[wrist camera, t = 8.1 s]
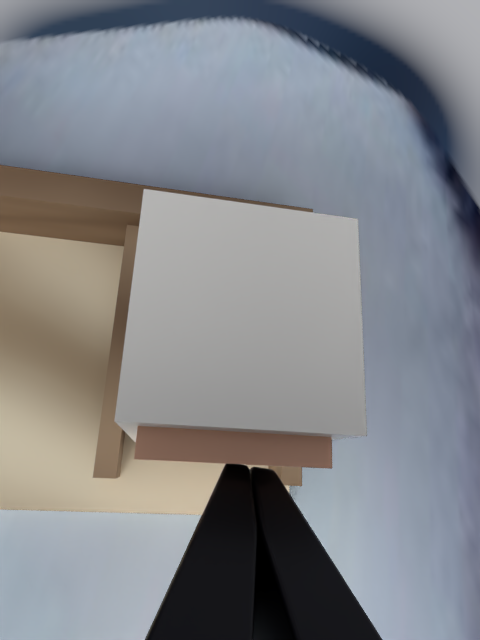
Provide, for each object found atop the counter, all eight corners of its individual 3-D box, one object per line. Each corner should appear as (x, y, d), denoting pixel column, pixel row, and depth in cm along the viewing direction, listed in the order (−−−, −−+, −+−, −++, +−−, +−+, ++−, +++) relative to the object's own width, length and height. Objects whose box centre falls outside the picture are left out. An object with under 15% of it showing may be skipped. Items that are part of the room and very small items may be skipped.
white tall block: (255, 465, 14) (367, 470, 7) (133, 459, 14) (109, 458, 6) (259, 334, 16) (358, 219, 8) (148, 324, 15) (143, 188, 8)
